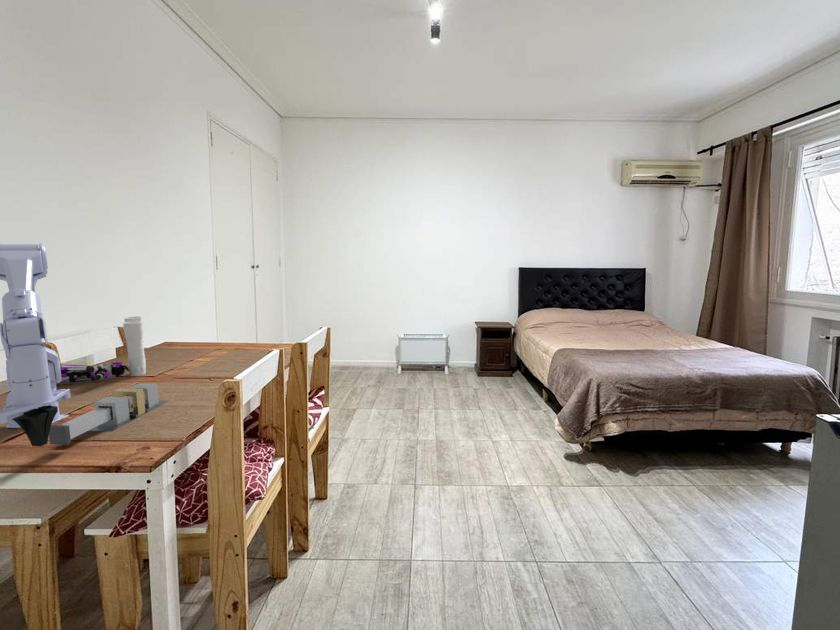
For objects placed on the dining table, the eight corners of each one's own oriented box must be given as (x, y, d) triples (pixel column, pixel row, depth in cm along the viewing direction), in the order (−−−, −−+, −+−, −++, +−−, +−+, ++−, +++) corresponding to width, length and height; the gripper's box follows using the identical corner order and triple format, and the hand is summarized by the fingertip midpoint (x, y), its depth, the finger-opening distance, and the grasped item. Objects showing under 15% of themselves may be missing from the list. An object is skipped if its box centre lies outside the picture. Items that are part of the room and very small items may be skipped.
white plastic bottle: (129, 365, 163) (124, 317, 160) (147, 363, 166) (142, 316, 163) (128, 377, 149) (122, 324, 146) (147, 375, 151) (142, 322, 149)
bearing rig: (83, 432, 104) (80, 406, 103) (145, 402, 125) (143, 379, 124) (111, 433, 103) (108, 407, 102) (169, 402, 124) (167, 380, 123)
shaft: (50, 444, 94) (47, 426, 93) (118, 411, 112) (116, 396, 112) (66, 444, 93) (64, 427, 93) (132, 411, 112) (130, 397, 111)
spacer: (114, 415, 113) (111, 391, 112) (122, 412, 115) (119, 388, 114) (138, 416, 112) (136, 391, 111) (145, 412, 115) (143, 388, 114)
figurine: (46, 358, 151) (142, 353, 159) (47, 378, 151) (142, 373, 159) (2, 370, 128) (117, 364, 136) (4, 394, 129) (118, 387, 136)
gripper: (12, 390, 80) (23, 462, 82) (80, 369, 94) (88, 430, 96) (-24, 390, 80) (-12, 461, 82) (49, 368, 95) (57, 429, 97)
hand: (39, 444), depth 89 cm, fingers closed
